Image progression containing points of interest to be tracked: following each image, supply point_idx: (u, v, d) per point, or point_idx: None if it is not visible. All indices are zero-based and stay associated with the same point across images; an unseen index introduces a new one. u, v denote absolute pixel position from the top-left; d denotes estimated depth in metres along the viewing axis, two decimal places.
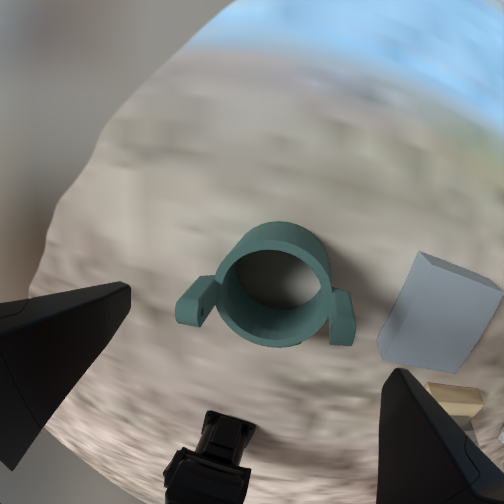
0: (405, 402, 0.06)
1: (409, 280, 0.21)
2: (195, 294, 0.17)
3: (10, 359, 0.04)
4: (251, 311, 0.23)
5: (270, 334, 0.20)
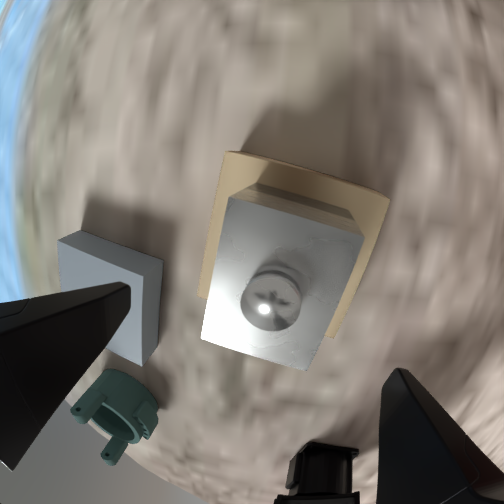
0: (405, 402, 0.06)
1: None
2: (104, 451, 0.23)
3: (10, 359, 0.04)
4: None
5: None
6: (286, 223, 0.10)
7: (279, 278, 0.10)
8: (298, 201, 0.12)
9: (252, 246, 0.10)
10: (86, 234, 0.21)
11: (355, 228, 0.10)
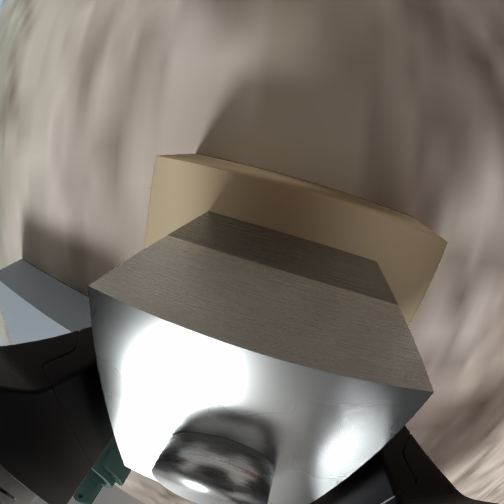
0: None
1: None
2: (78, 491, 0.17)
3: (67, 406, 0.04)
4: None
5: None
6: (231, 366, 0.03)
7: (219, 467, 0.03)
8: (280, 262, 0.06)
9: (160, 393, 0.04)
10: (26, 265, 0.15)
11: (407, 348, 0.04)
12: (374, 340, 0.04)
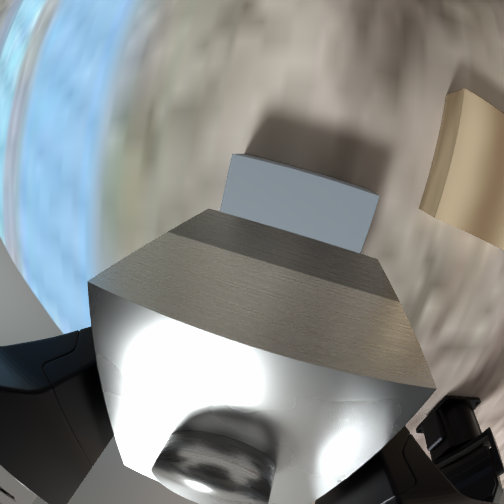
0: None
1: None
2: None
3: (67, 406, 0.04)
4: None
5: None
6: (231, 363, 0.03)
7: (220, 466, 0.03)
8: (281, 259, 0.06)
9: (159, 390, 0.04)
10: (259, 157, 0.18)
11: (409, 344, 0.04)
12: (376, 336, 0.04)
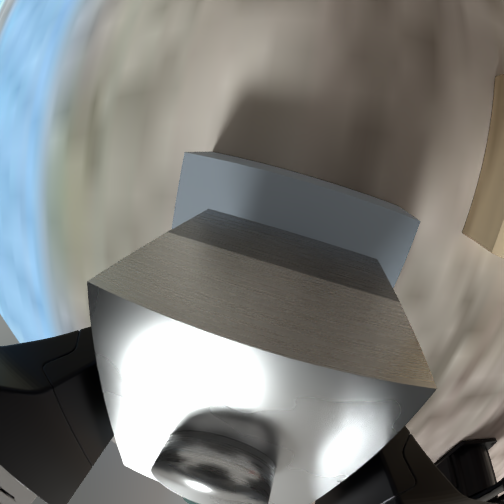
0: None
1: None
2: None
3: (67, 406, 0.04)
4: None
5: None
6: (231, 363, 0.03)
7: (220, 466, 0.03)
8: (281, 259, 0.06)
9: (159, 390, 0.04)
10: (232, 156, 0.12)
11: (409, 344, 0.04)
12: (376, 337, 0.04)
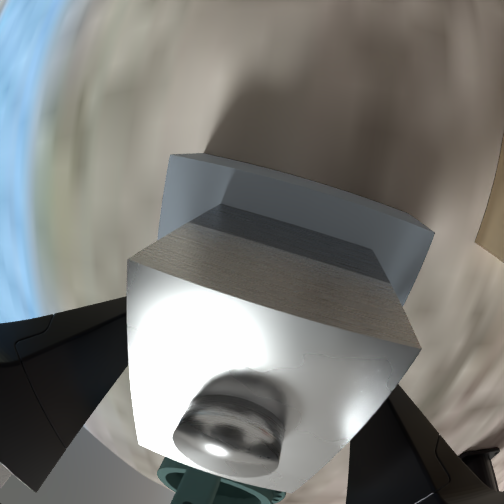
0: None
1: None
2: None
3: (36, 382, 0.04)
4: None
5: None
6: (251, 323, 0.04)
7: (237, 423, 0.04)
8: (287, 245, 0.07)
9: (185, 356, 0.05)
10: (225, 158, 0.11)
11: (398, 315, 0.05)
12: (369, 307, 0.05)
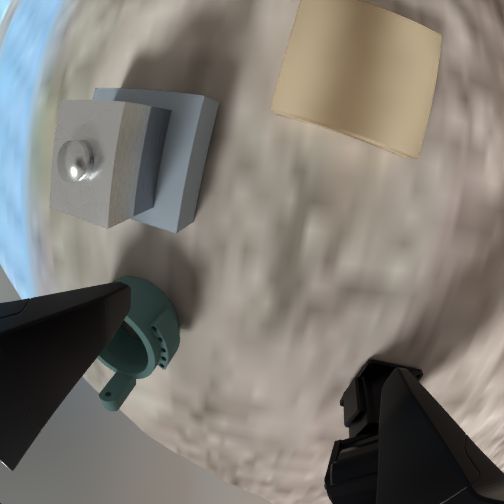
0: (405, 402, 0.06)
1: None
2: None
3: (10, 359, 0.04)
4: None
5: None
6: (84, 106, 0.11)
7: (74, 140, 0.11)
8: None
9: (69, 127, 0.12)
10: None
11: (132, 103, 0.12)
12: None
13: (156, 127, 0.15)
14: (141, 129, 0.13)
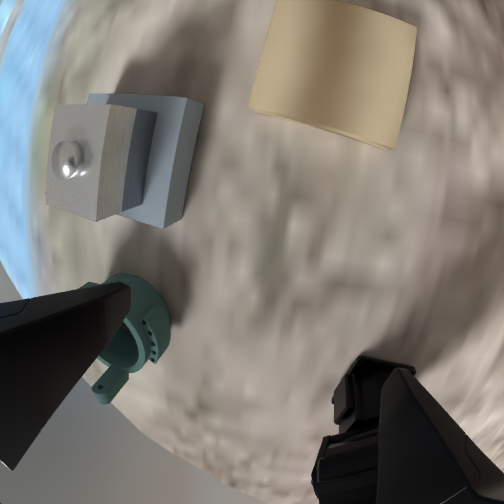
0: (405, 402, 0.06)
1: None
2: None
3: (10, 359, 0.04)
4: None
5: None
6: (75, 110, 0.12)
7: (66, 141, 0.12)
8: None
9: (62, 129, 0.13)
10: None
11: (118, 106, 0.13)
12: None
13: (142, 128, 0.15)
14: (127, 130, 0.14)
